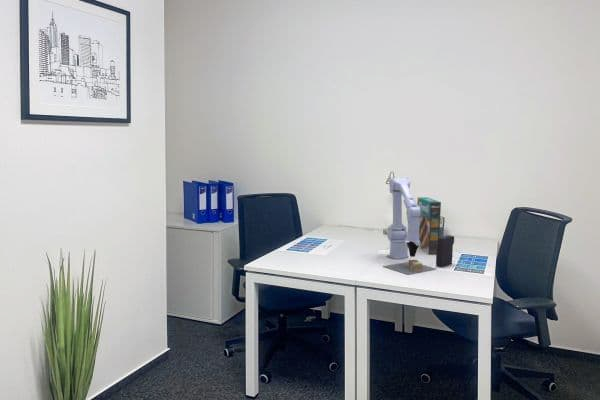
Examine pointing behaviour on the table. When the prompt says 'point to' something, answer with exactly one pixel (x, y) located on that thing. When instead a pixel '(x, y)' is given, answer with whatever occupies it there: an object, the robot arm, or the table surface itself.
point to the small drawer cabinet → (444, 250)
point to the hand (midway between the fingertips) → (412, 256)
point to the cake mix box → (429, 224)
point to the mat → (407, 268)
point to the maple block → (415, 265)
